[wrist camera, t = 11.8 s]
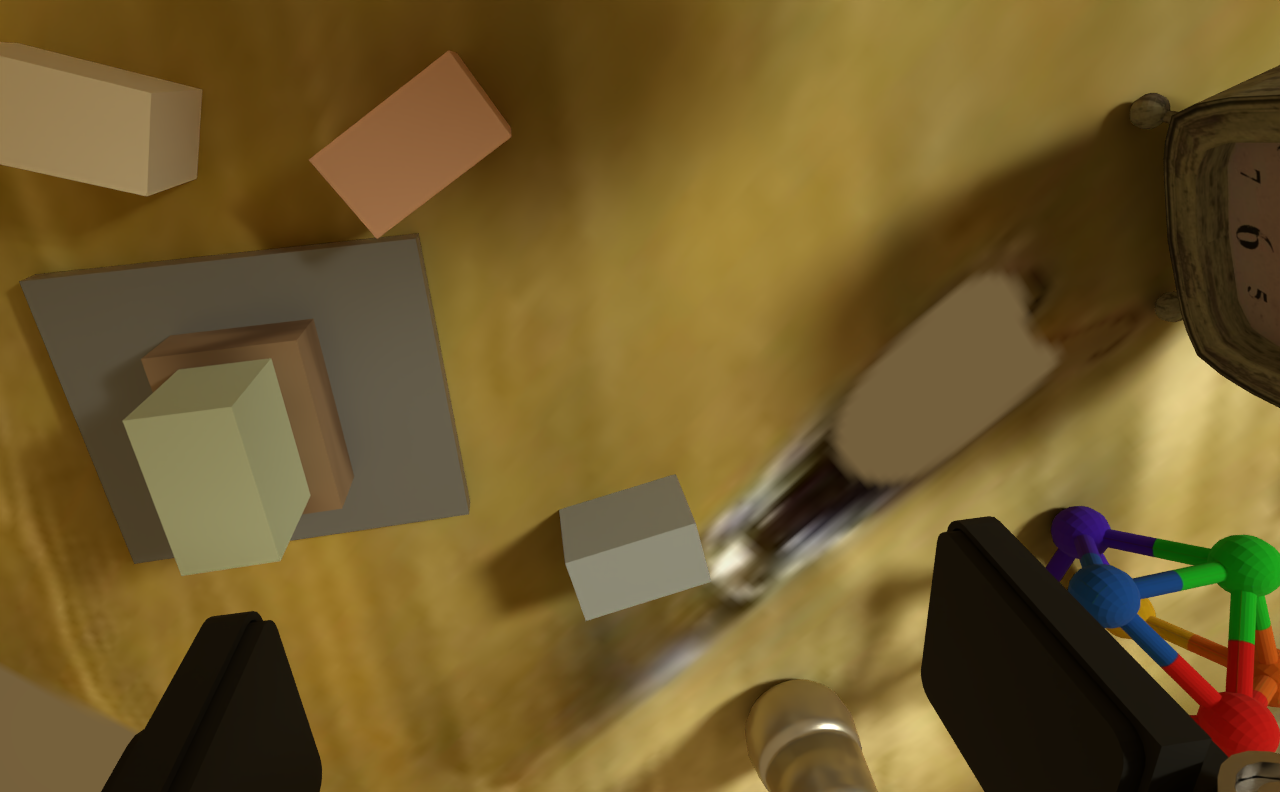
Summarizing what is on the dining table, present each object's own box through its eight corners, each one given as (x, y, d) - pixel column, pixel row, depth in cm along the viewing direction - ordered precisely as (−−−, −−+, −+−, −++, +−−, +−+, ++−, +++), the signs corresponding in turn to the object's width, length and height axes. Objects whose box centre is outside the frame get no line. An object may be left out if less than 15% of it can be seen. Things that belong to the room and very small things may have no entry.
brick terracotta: (456, 52, 32) (448, 50, 28) (511, 127, 34) (511, 136, 29) (335, 147, 33) (308, 159, 28) (394, 216, 34) (377, 239, 30)
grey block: (675, 473, 42) (695, 523, 37) (690, 527, 43) (711, 581, 39) (559, 509, 41) (565, 563, 37) (577, 562, 43) (586, 620, 38)
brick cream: (203, 89, 31) (151, 93, 27) (197, 178, 33) (147, 196, 28) (19, 43, 30) (-69, 38, 25) (20, 138, 31) (-64, 150, 27)
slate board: (418, 233, 35) (415, 238, 34) (470, 502, 40) (469, 514, 39) (35, 274, 33) (19, 281, 32) (145, 549, 39) (134, 563, 37)
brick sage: (178, 369, 31) (122, 420, 27) (271, 358, 32) (231, 406, 27) (225, 507, 34) (181, 575, 29) (310, 495, 34) (280, 560, 30)
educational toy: (1135, 426, 47) (1427, 563, 33) (1143, 589, 52) (1395, 764, 38) (907, 528, 45) (1113, 717, 31) (938, 685, 50) (1127, 904, 37)
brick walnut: (313, 318, 34) (296, 340, 32) (354, 476, 37) (342, 508, 35) (170, 335, 34) (140, 359, 31) (224, 494, 37) (201, 529, 34)
